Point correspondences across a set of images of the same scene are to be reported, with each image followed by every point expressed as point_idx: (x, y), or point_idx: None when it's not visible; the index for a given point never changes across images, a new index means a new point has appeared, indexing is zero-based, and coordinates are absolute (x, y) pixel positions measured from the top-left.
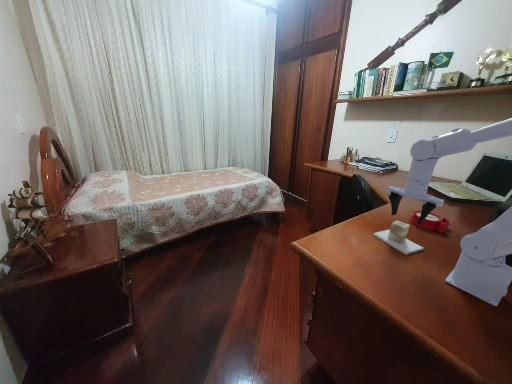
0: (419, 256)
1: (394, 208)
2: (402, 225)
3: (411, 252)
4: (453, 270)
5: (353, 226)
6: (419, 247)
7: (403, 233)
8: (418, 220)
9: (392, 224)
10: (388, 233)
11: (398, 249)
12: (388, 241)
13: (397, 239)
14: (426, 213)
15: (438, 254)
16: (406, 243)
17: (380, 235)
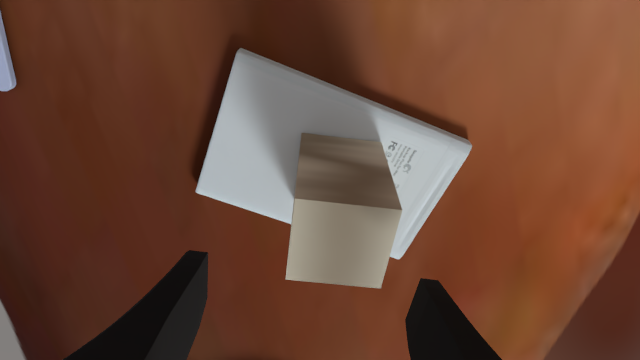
0: (185, 95)
1: (451, 338)
2: (324, 230)
3: (225, 91)
4: (4, 66)
5: (611, 152)
6: (211, 177)
7: (297, 171)
8: (193, 274)
9: (393, 204)
10: None
11: (294, 70)
12: (367, 108)
13: (324, 144)
14: (79, 352)
15: (134, 197)
16: (277, 168)
17: (428, 146)
